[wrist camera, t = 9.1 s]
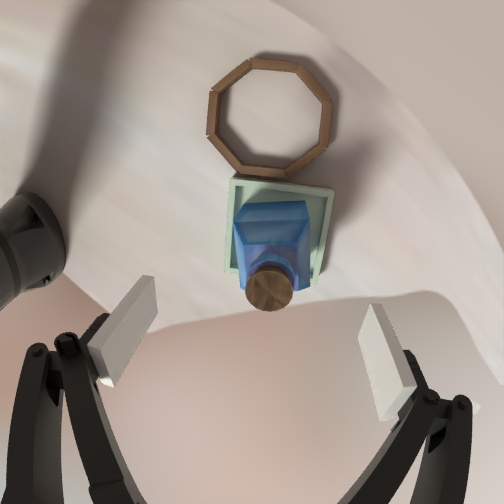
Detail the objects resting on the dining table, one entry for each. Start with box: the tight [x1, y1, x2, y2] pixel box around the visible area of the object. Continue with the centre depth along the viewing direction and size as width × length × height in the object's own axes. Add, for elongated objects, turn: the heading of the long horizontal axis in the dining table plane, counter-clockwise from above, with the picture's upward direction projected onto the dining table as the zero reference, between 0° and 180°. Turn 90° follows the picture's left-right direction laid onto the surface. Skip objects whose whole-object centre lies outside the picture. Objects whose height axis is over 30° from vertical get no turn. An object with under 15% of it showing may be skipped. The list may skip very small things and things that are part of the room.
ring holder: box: [206, 58, 333, 179], centre depth 25 cm, size 12×12×1 cm
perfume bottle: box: [233, 201, 310, 312], centre depth 24 cm, size 6×6×12 cm
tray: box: [224, 177, 335, 284], centre depth 29 cm, size 10×10×2 cm
